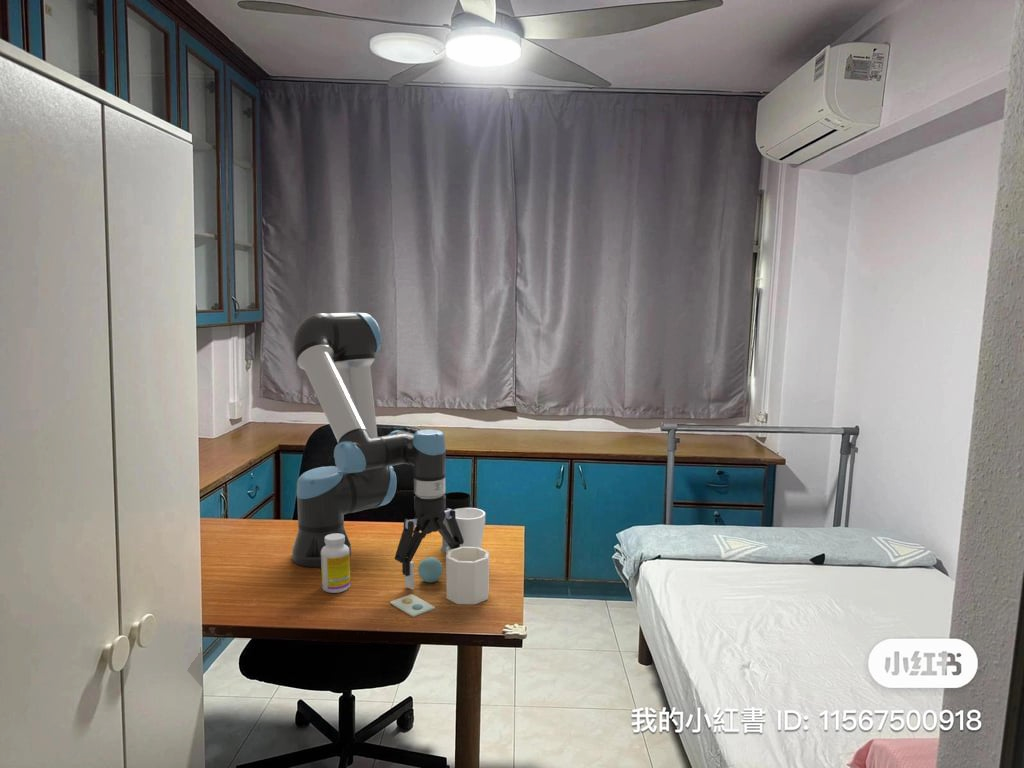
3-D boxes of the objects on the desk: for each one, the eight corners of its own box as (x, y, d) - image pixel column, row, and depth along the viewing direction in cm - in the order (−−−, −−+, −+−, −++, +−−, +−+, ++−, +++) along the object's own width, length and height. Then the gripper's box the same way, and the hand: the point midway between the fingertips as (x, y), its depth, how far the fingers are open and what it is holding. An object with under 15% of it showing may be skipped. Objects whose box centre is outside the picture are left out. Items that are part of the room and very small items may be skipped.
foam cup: (453, 569, 182) (452, 520, 180) (446, 556, 190) (446, 509, 188) (489, 566, 184) (489, 517, 182) (481, 552, 193) (481, 506, 191)
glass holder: (441, 555, 191) (441, 501, 189) (439, 536, 205) (439, 486, 203) (473, 553, 192) (473, 500, 190) (470, 535, 206) (470, 485, 204)
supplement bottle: (356, 587, 170) (355, 536, 169) (333, 596, 165) (331, 543, 164) (339, 579, 175) (337, 529, 173) (316, 588, 170) (314, 536, 168)
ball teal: (413, 581, 174) (413, 557, 173) (433, 574, 178) (432, 551, 177) (427, 588, 170) (427, 565, 169) (447, 581, 174) (447, 558, 173)
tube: (439, 594, 167) (438, 553, 166) (470, 582, 174) (470, 543, 172) (465, 608, 160) (465, 565, 159) (496, 595, 167) (497, 555, 165)
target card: (390, 603, 162) (390, 601, 162) (411, 595, 166) (411, 593, 166) (413, 617, 156) (412, 614, 156) (435, 608, 160) (434, 606, 160)
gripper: (396, 508, 160) (398, 599, 163) (478, 488, 176) (477, 571, 179) (378, 500, 166) (380, 589, 169) (459, 482, 182) (459, 562, 185)
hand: (430, 580), depth 174 cm, fingers open, 12 cm apart
